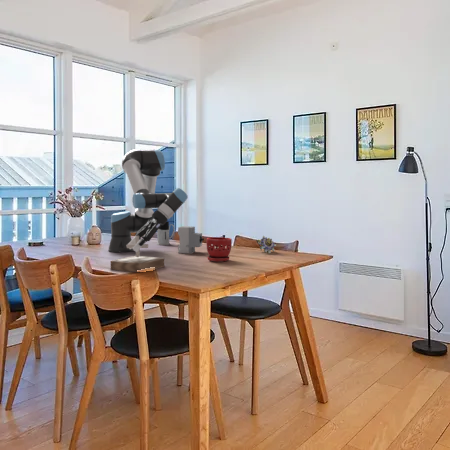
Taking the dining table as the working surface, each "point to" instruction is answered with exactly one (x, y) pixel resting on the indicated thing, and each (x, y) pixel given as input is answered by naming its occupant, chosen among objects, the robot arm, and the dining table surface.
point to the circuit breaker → (189, 239)
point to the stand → (136, 263)
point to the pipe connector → (135, 244)
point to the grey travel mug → (164, 234)
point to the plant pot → (218, 248)
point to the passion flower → (266, 244)
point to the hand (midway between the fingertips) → (131, 249)
